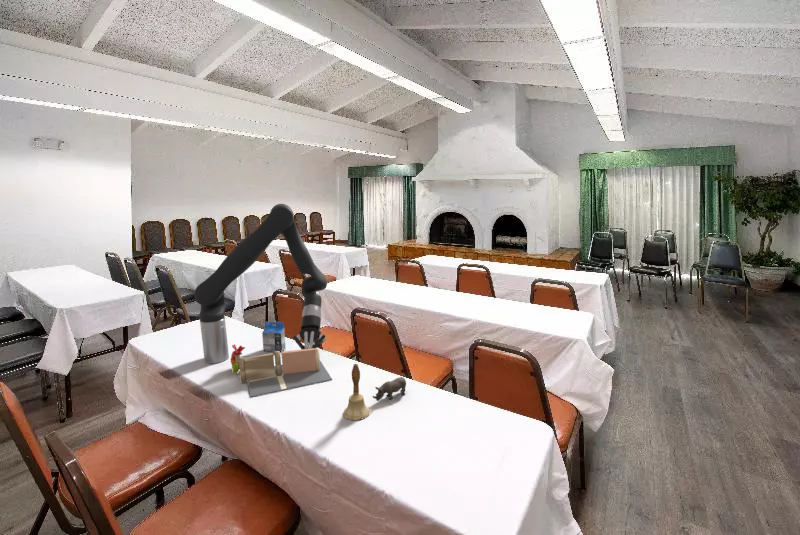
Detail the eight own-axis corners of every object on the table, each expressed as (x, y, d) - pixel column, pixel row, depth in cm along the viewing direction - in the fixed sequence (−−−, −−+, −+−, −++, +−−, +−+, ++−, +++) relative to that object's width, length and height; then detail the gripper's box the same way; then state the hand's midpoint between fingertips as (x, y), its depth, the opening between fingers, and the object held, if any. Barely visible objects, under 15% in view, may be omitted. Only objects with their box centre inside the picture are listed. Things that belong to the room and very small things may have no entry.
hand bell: (355, 403, 130) (353, 357, 127) (375, 410, 125) (374, 363, 122) (337, 415, 123) (335, 366, 120) (358, 423, 119) (356, 373, 116)
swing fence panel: (283, 372, 151) (281, 351, 149) (320, 368, 154) (319, 347, 153) (283, 374, 149) (281, 353, 148) (320, 370, 153) (319, 349, 151)
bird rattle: (226, 377, 155) (235, 374, 148) (219, 348, 156) (227, 345, 150) (242, 371, 159) (251, 369, 153) (235, 344, 160) (244, 341, 154)
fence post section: (240, 381, 145) (238, 357, 144) (281, 373, 151) (279, 350, 149) (241, 383, 144) (238, 359, 142) (282, 375, 149) (280, 352, 148)
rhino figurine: (368, 402, 131) (368, 384, 130) (402, 389, 139) (402, 373, 138) (375, 407, 128) (375, 389, 126) (410, 393, 136) (409, 377, 135)
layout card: (246, 372, 154) (245, 371, 153) (318, 358, 165) (318, 357, 165) (250, 397, 135) (250, 396, 135) (332, 380, 146) (332, 378, 146)
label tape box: (263, 351, 174) (260, 324, 171) (267, 347, 178) (265, 321, 175) (282, 352, 172) (280, 325, 170) (286, 348, 176) (284, 321, 174)
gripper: (293, 314, 159) (288, 356, 149) (326, 313, 160) (324, 355, 150) (296, 323, 165) (292, 363, 156) (329, 321, 166) (326, 362, 156)
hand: (308, 359), depth 153 cm, fingers closed
